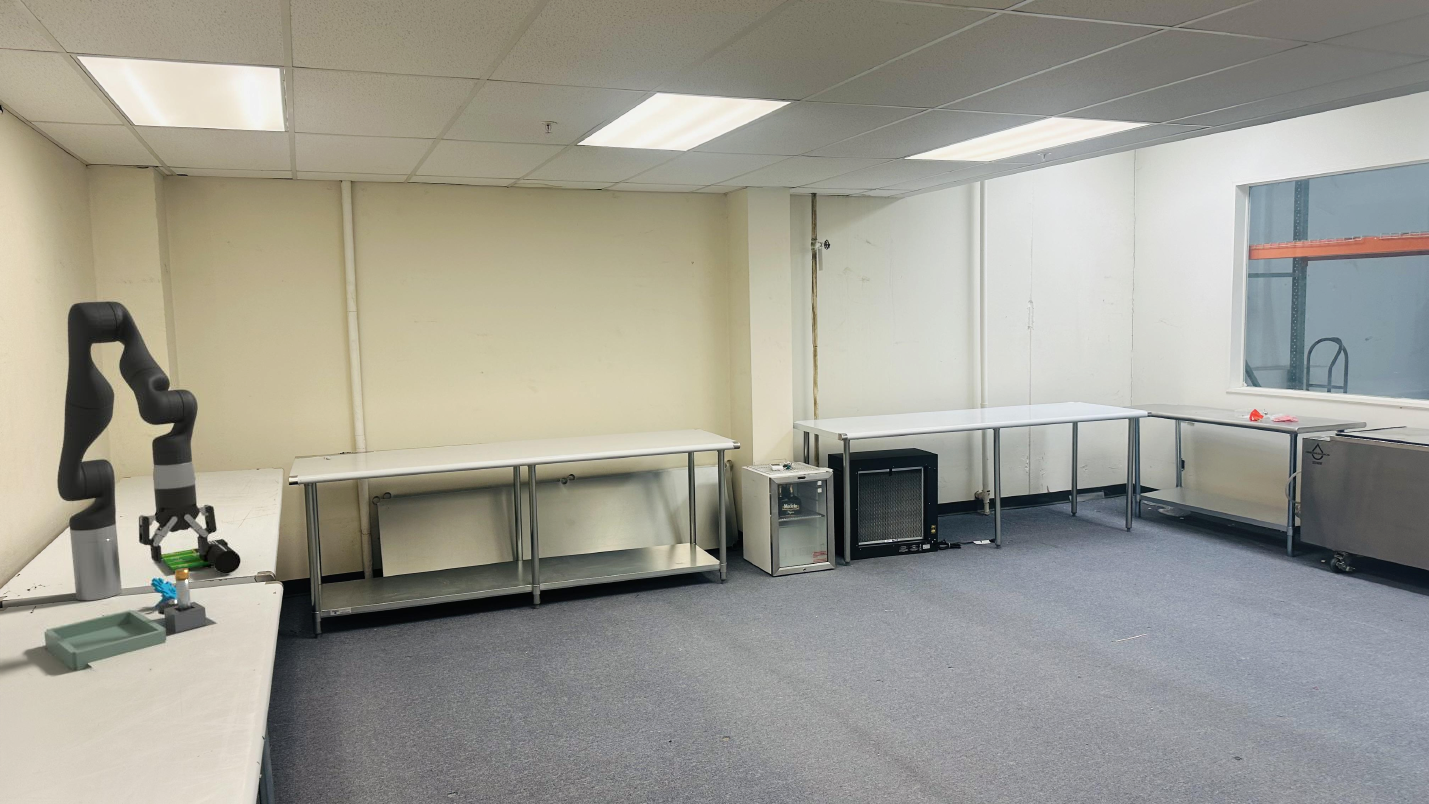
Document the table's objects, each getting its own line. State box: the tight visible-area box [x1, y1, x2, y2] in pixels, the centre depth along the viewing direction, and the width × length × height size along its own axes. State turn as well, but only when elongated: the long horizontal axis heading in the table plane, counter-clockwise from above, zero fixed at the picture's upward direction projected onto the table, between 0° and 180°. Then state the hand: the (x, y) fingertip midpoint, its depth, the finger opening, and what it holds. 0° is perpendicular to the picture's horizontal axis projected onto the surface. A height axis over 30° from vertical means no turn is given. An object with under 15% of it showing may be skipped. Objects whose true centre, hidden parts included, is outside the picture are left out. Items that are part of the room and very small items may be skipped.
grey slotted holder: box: [153, 599, 218, 638], centre depth 194 cm, size 13×10×6 cm
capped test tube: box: [174, 568, 192, 612], centre depth 191 cm, size 2×2×12 cm
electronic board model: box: [161, 538, 242, 575], centre depth 240 cm, size 30×7×15 cm
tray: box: [44, 609, 167, 671], centre depth 183 cm, size 20×16×4 cm
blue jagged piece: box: [150, 577, 177, 608], centre depth 206 cm, size 11×6×10 cm
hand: (180, 558), depth 190 cm, fingers open, 8 cm apart
